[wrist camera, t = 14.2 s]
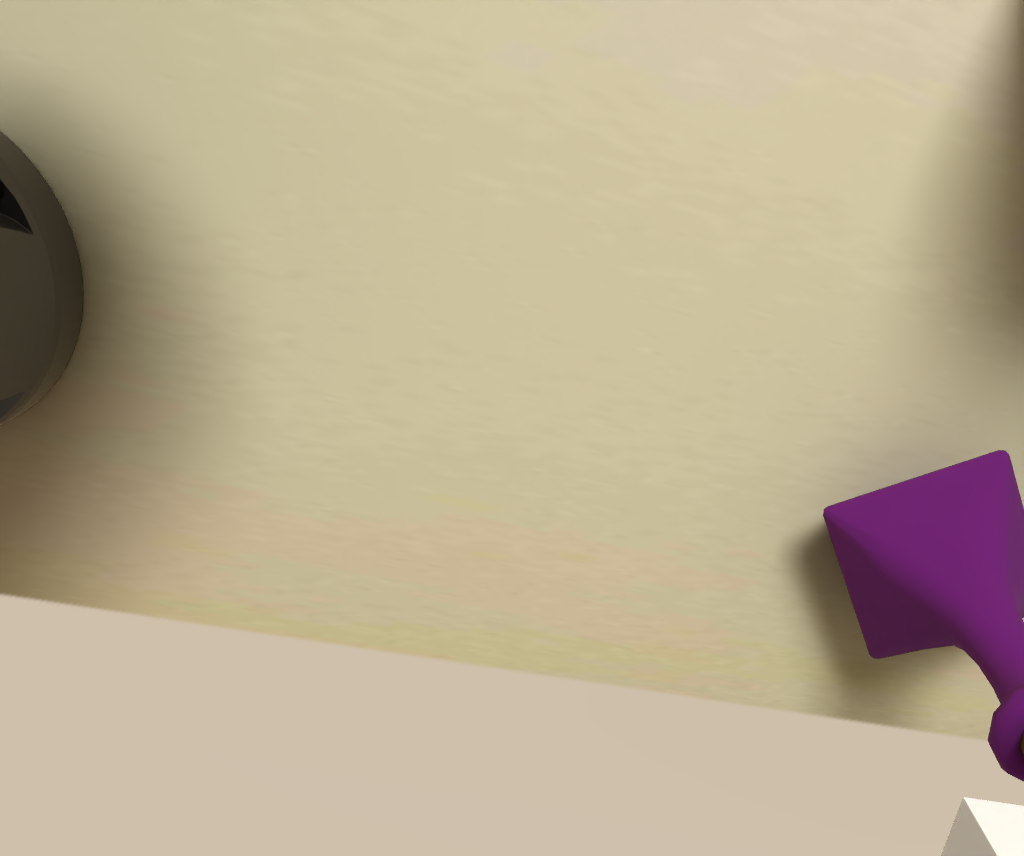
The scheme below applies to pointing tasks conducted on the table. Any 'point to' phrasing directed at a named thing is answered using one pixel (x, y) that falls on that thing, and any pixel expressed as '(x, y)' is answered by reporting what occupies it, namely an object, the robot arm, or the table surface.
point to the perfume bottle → (944, 576)
